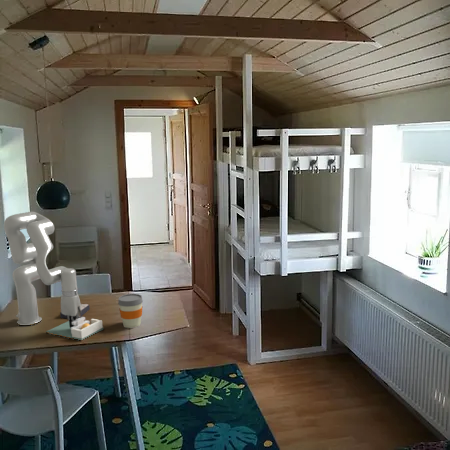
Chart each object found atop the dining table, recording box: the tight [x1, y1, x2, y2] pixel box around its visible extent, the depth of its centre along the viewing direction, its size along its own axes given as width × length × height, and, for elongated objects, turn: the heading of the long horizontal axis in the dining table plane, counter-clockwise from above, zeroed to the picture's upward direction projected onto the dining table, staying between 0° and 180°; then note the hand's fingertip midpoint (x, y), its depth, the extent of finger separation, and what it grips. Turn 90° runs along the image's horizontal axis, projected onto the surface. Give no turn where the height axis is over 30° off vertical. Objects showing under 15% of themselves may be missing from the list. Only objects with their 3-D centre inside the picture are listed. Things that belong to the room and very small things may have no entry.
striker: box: [71, 316, 91, 334], centre depth 246 cm, size 4×11×6 cm, turn 153°
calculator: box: [59, 303, 91, 319], centre depth 274 cm, size 11×4×15 cm
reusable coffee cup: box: [117, 293, 144, 329], centre depth 253 cm, size 13×13×15 cm
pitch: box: [45, 320, 104, 341], centre depth 248 cm, size 24×16×1 cm, turn 63°
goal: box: [71, 318, 104, 339], centre depth 244 cm, size 6×15×4 cm, turn 153°
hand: (73, 326), depth 248 cm, fingers closed
